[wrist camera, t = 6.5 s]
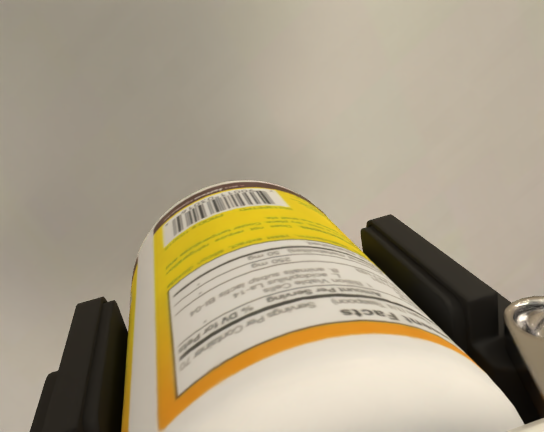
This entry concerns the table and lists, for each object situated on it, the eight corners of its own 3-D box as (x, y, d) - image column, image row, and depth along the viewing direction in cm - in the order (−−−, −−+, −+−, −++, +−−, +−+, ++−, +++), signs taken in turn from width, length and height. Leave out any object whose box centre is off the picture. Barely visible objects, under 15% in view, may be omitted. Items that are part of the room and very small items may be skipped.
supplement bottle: (257, 388, 15) (442, 994, 5) (89, 304, 13) (-84, 1055, 3) (375, 242, 14) (826, 657, 5) (216, 128, 12) (455, 460, 3)
